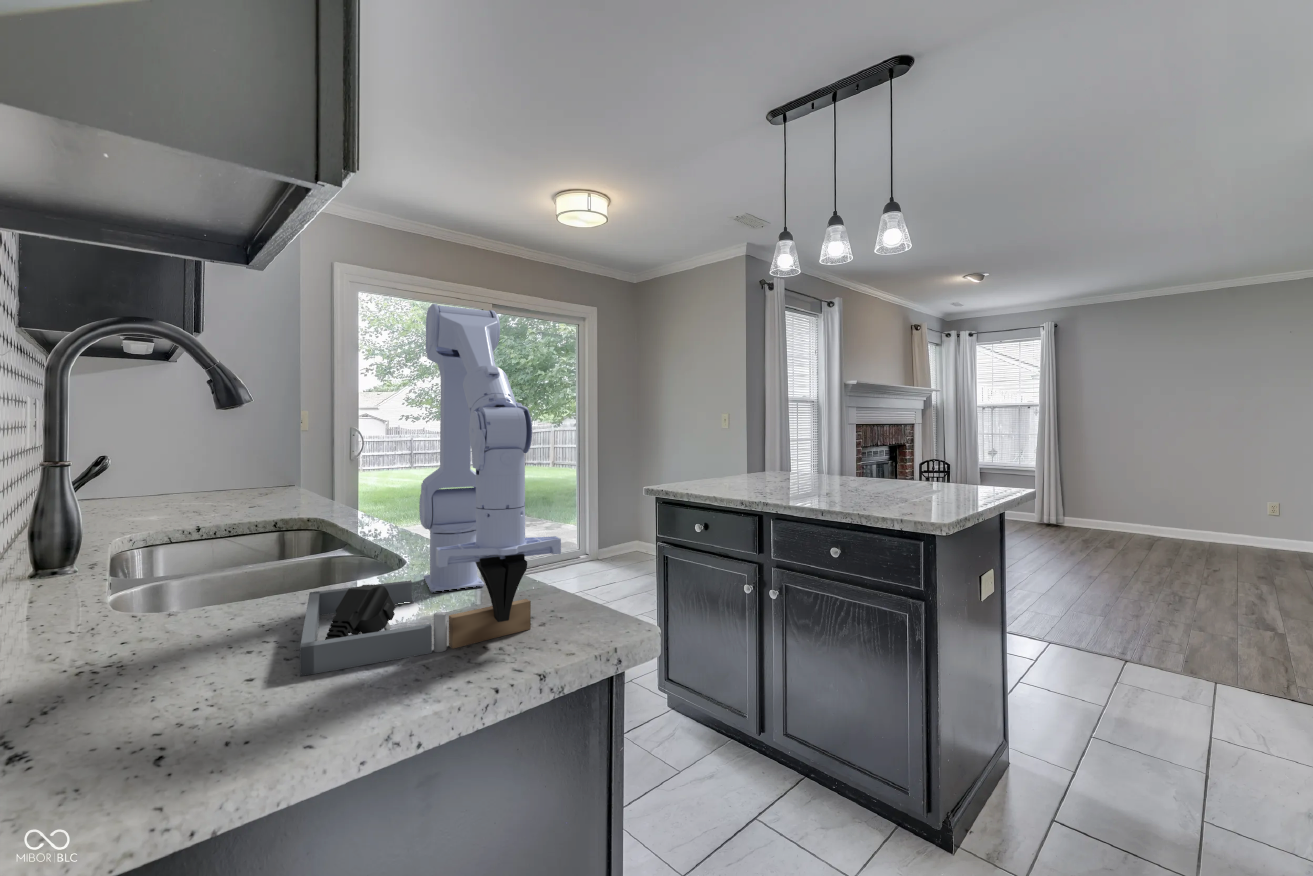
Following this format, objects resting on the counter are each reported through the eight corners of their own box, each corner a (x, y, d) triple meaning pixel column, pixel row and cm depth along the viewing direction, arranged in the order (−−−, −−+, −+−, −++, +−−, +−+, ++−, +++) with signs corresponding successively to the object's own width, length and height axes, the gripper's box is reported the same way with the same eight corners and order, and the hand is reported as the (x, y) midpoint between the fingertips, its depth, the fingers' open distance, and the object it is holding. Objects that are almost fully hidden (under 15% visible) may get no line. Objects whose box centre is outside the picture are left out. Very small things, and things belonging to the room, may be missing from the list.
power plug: (289, 661, 60) (346, 571, 70) (318, 698, 65) (367, 609, 74) (340, 663, 60) (390, 573, 69) (365, 700, 64) (409, 611, 74)
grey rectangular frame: (309, 614, 77) (309, 583, 77) (423, 599, 84) (423, 570, 84) (300, 677, 58) (299, 636, 58) (447, 650, 65) (447, 614, 65)
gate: (452, 648, 66) (452, 618, 66) (448, 645, 67) (448, 615, 67) (530, 629, 72) (530, 601, 72) (526, 626, 73) (526, 598, 73)
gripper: (442, 515, 61) (443, 640, 61) (569, 506, 68) (570, 618, 69) (432, 507, 67) (433, 621, 68) (550, 500, 74) (550, 603, 75)
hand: (501, 619), depth 68 cm, fingers closed, pressing on gate
